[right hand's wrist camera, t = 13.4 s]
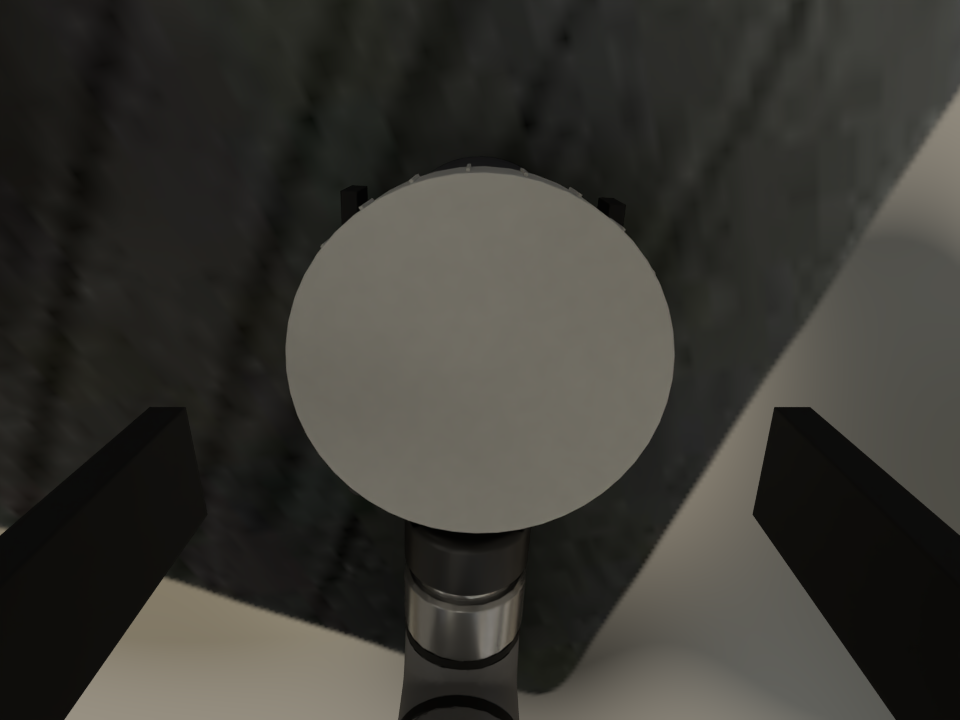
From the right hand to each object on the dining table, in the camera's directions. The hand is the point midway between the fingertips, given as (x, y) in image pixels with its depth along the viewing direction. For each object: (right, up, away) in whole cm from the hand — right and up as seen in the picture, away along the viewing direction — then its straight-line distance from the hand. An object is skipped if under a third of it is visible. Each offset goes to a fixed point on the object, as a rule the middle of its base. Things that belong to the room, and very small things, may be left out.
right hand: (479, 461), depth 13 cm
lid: (0, +2, +5) cm, 5 cm away
